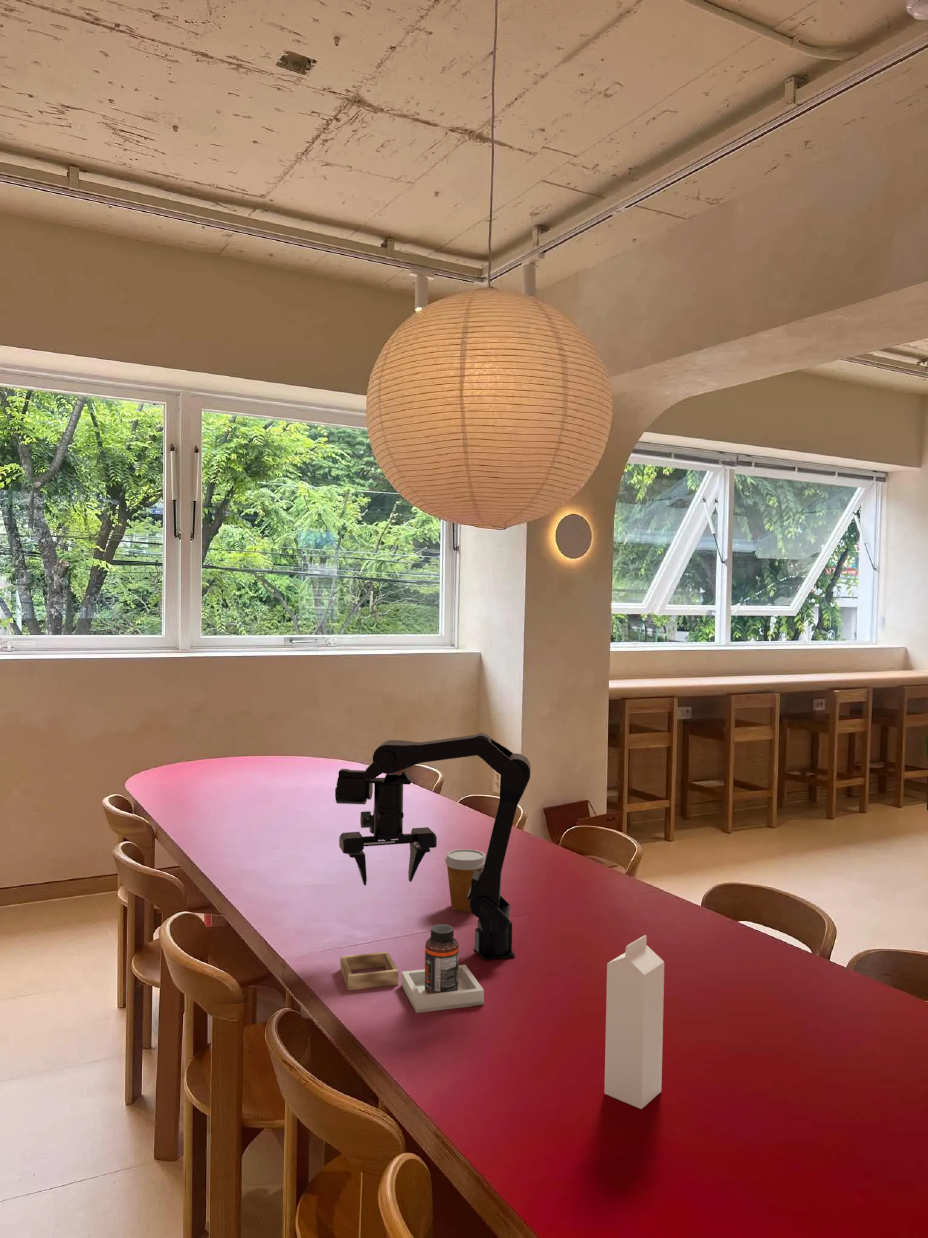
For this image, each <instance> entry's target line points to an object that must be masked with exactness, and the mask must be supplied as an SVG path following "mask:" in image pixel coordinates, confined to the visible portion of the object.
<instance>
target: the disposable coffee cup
mask: <svg viewBox="0 0 928 1238" xmlns="http://www.w3.org/2000/svg"><path fill="white" fill-rule="evenodd" d="M485 859H486V853H484V852H483V851H480V850H477V849H470V848H469V849H468V848H467V849H466V848H460V849H454V850H451V851H448V852H447V853H446V857H445V858H444V862H445V864H446V867H447V876H448V886H449V888H448V889H449V895H450V905H451V909H453V910H454V911H456V912H461V913H468V912H469V913H470V912H471V913H472V911H471V910H470V899H469V900H467V896H468V892H469V888H470V886H471V883H472V876H473V872H474V870H476V871H478V872H481V870H482V868H483V866H484V863H485Z"/></svg>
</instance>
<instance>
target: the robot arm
mask: <svg viewBox="0 0 928 1238" xmlns="http://www.w3.org/2000/svg"><path fill="white" fill-rule="evenodd" d="M474 756H475V757H476V756H478V757H479V758H480V759H482V761H484V762H485V763H486V765H488V766H489V767H490V768H492V769H493V770H494V772H496V773H498V774H499V775H500V777H499V778H500V783H499V800H498V806H497V809H496V814H495V818H494V822H493V825H492V826H493V827H492V830H491V834H490V837H489V838H490V840H489V844H488V848H487V851H486V854H485V857H486V859H485V863H484V866H483V868H482V870H481V872H478V871H476V870H474V872H473V876H472V883H471V886H470V888H469V892H468V896H467V900H469V899H470V910H471V911H472V912H471V913H472V915H474V916H475V917H476V918H477V919H478V920H477V928H474V946H473V947H474V949H475V951H476V952H477V953H478V955H479V956H480V957H481V959H482V960H484V961H487V960H497V959H499V960H500V959H507V958H514V957H516V956H515V955H516V954H515V952H514V951H513V922H512V921H511V919H510V916H511V904H510V903H509V901H507V899H505V898H504V897H503V896H502V894H501V891H502V889H501V888H502V887H501V886H502V872H503V871H502V870H503V867H504V866H503V865H504V862H505V858H506V853H507V849H508V845H509V841H510V836H511V833H512V829H513V824H514V820H515V817H516V813H517V812H516V811H517V809H518V805H519V802H520V801H521V799H522V797H523V795H524V792H525V791H526V788H527V786H528V784H529V782H530V779H531V767H532V766H531V763H530V760H529V759H528V757H526V756H525V755H524V754H521V753H514V752H513V751H511V750H510V749H509V748H507V747H505V746H504V745H503V744H501V743H499V742H498V741H496V740H495V739H493V738H492V737H491V736H489V734H487V733H485V732H479V733H476V734H473V735H465V736H457V737H450V738H443V739H436V740H435V739H434V740H429V741H419V742H418V741H411V740H400V739H393V740H392V739H388V740H385V741H384V742H382V743H381V744H380V745H379V746H378V747H377V748H376V749H375V750H374V752H373V754H372V763H371V764H370V765H368V766H367V768H366V769H365V770H363V769H362V770H360V769H359V770H358V769H356V770H355V769H349V768H341V769H340V770H339V771H338V777H337V780H336V787H335V790H334V794H335V795H334V798H335V802H336V804H340V805H341V804H342V805H345V804H346V805H366V804H367V802H368V800H370V801H371V800H372V797H373V796H374V797H373V798H374V800H373V810H372V811H370V810H368V811H366V810H365V811H360V828H361V829H365V828H366V829H368V828H369V833H370V834H372V835H370V836H369V835H367V836H363V835H362V834H361V832H360V831H350V832H349V831H348V832H342V833H341V834H340V835H339V838H338V841H339V843H338V845H339V848H340V851H341V852H342V853H343V854H345V855H348V857H349V858H352V859H353V858H354V860H355V863H356V865H357V868H358V871H359V875H360V878H361V881H362V884H363V886H367V882H368V881H367V880H368V879H367V878H368V876H367V863H366V854H365V852H364V849H365V847H375V846H390V845H392V846H393V845H406V844H409V851H410V852H409V854H410V855H409V861H408V873H407V874H408V882H410V883H411V882H412V881H413V879H414V877H415V874H416V872H417V870H418V867H419V865H420V863H421V862H422V860H423V858H424V857H425V854H426V853H430V852H431V849H435V848H437V844H438V843H437V842H438V837H437V834H436V833H435V832H434V831H433V830H432V829H431V828H430V827H428V826H427V827H412V828H411V830H410V833H404V832H403V831H404V829H403V827H404V823H403V821H404V820H403V819H404V785H411V784H412V783H413V781H414V778H413V777H412V775H410V774H409V773H408V771H407V770H406V769H408V768H411V767H413V766H416V765H418V764H422V763H431V762H438V761H444V760H451V759H452V760H453V759H461V758H466V757H467V758H468V757H474ZM402 770H403V771H402ZM400 771H402V772H401V773H400V774H399V773H397V772H400ZM382 774H385V776H384V777H379V776H380V775H382ZM373 786H374V787H373ZM373 788H374V789H373ZM373 792H374V793H373ZM371 812H373V814H372V813H371Z"/></svg>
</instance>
